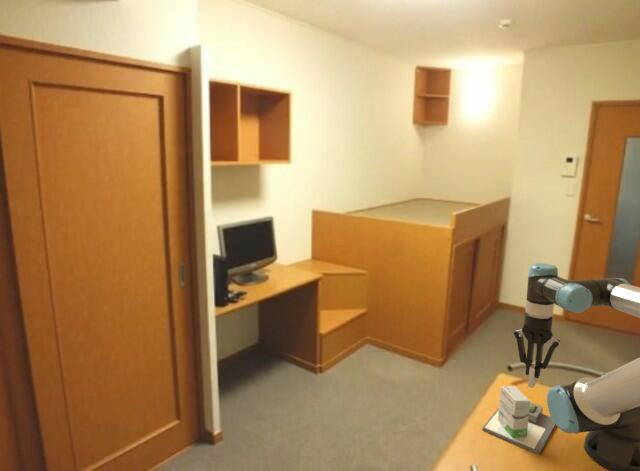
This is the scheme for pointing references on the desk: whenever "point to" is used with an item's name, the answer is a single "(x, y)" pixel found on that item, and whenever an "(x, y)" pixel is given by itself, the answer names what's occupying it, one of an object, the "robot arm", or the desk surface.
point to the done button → (532, 408)
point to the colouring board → (536, 432)
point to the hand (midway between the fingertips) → (531, 385)
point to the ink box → (513, 411)
